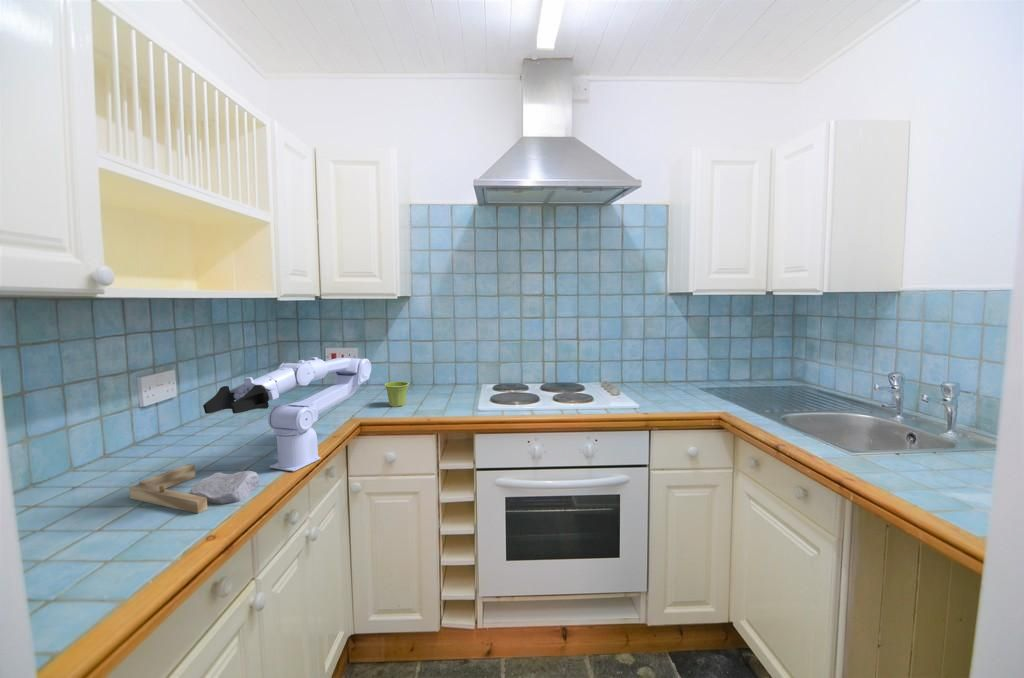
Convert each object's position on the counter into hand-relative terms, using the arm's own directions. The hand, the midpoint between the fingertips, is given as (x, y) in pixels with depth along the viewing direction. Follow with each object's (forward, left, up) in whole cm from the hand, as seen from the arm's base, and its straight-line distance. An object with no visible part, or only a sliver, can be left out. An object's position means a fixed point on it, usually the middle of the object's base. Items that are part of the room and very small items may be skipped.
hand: (219, 409), depth 96 cm
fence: (0, -10, -20) cm, 22 cm away
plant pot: (-82, -11, -20) cm, 86 cm away
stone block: (-1, -3, -21) cm, 21 cm away
